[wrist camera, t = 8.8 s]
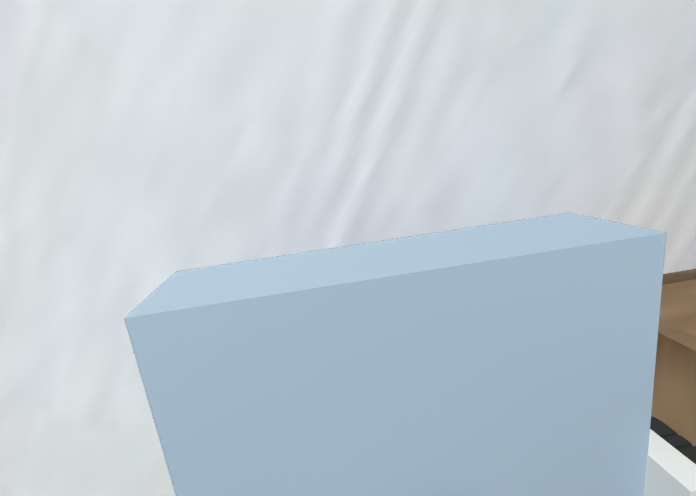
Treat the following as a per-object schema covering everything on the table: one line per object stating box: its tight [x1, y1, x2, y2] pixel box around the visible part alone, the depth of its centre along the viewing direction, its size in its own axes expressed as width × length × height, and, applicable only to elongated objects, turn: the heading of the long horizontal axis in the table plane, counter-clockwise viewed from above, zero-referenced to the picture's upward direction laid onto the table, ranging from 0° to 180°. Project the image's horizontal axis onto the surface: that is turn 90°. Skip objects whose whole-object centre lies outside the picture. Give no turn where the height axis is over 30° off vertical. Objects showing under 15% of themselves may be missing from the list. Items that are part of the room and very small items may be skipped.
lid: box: [124, 213, 666, 496], centre depth 11 cm, size 14×11×5 cm
